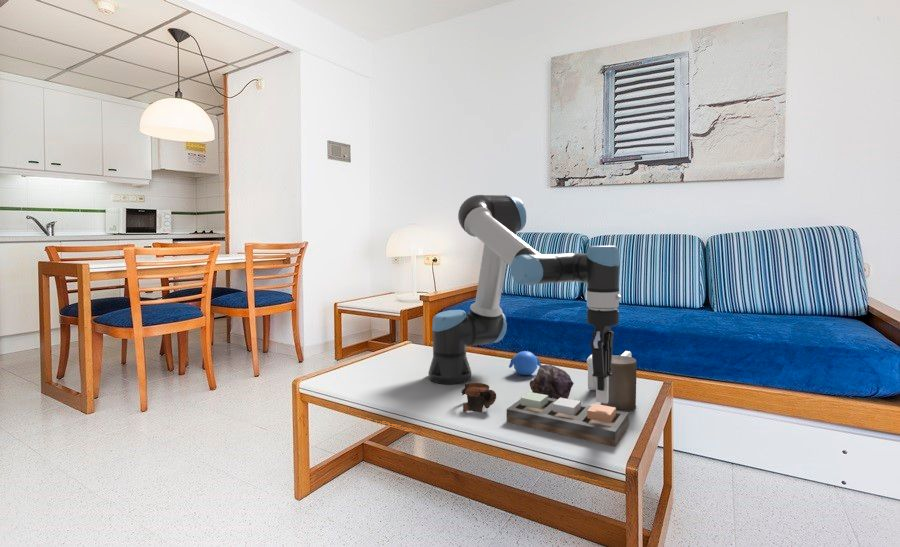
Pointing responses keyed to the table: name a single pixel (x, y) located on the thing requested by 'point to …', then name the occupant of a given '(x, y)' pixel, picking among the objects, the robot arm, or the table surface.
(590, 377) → the cable organizer
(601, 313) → the robot arm
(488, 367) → the table surface
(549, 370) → the rock
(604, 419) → the orange square block
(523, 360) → the blue rounded piece
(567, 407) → the white key
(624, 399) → the pillar candle
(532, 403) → the sage key
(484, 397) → the pottery mug
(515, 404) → the keypad
